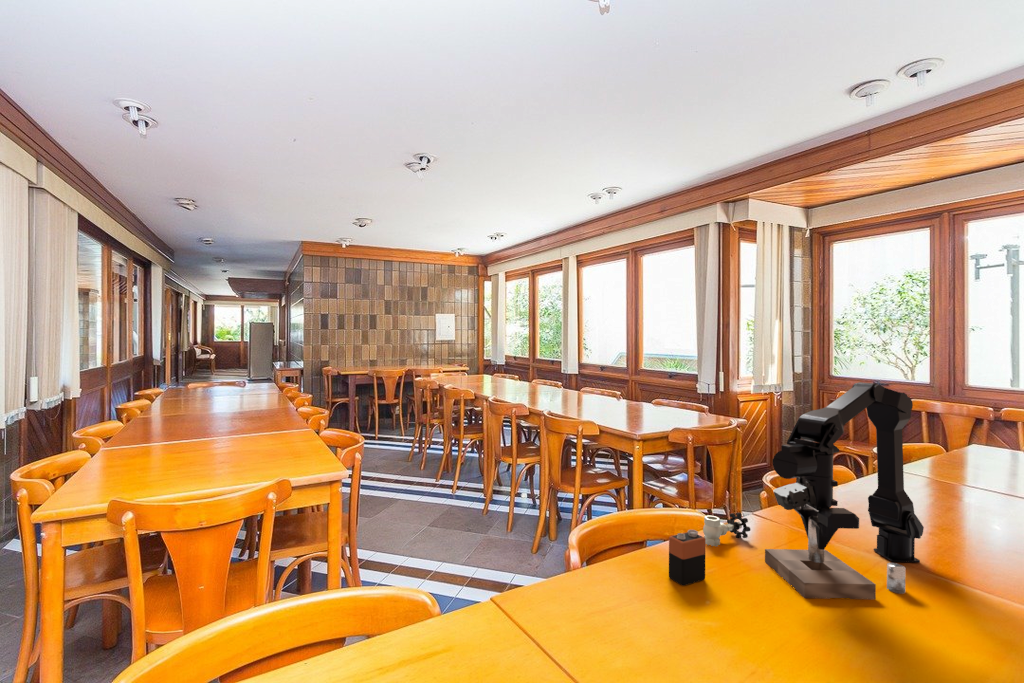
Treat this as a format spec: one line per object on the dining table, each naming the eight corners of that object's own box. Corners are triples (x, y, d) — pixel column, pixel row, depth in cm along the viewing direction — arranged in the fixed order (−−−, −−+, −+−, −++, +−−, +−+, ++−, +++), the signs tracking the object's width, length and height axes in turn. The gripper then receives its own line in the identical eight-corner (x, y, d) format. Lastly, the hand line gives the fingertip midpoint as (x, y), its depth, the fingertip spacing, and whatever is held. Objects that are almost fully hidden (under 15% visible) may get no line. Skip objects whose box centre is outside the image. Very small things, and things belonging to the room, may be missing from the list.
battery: (706, 580, 105) (706, 533, 105) (682, 587, 102) (683, 539, 102) (690, 571, 109) (691, 526, 109) (667, 578, 106) (668, 531, 106)
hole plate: (825, 563, 114) (826, 550, 114) (875, 599, 98) (875, 584, 98) (764, 561, 114) (765, 549, 114) (804, 597, 98) (804, 582, 98)
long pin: (819, 556, 108) (819, 515, 108) (827, 562, 105) (828, 520, 105) (805, 556, 108) (805, 515, 108) (813, 562, 105) (813, 520, 105)
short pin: (897, 586, 103) (898, 562, 103) (908, 593, 100) (909, 569, 100) (883, 586, 104) (883, 562, 103) (894, 593, 101) (894, 569, 100)
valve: (716, 550, 121) (750, 542, 126) (716, 523, 121) (750, 516, 126) (695, 540, 127) (729, 533, 132) (696, 514, 127) (729, 508, 132)
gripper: (758, 462, 116) (758, 528, 116) (804, 486, 97) (803, 565, 97) (806, 463, 115) (806, 529, 116) (861, 486, 97) (860, 566, 97)
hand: (816, 545), depth 106 cm, fingers closed on long pin, 3 cm apart
